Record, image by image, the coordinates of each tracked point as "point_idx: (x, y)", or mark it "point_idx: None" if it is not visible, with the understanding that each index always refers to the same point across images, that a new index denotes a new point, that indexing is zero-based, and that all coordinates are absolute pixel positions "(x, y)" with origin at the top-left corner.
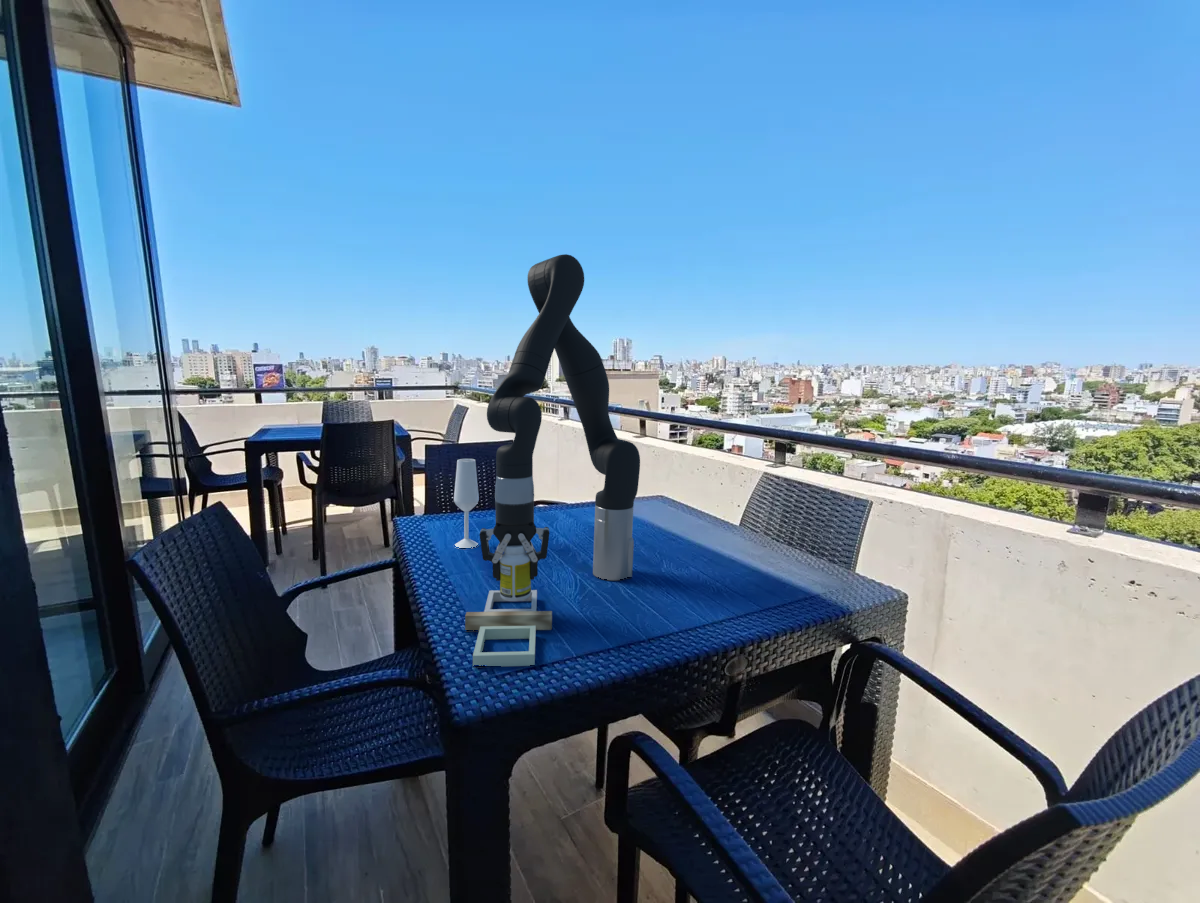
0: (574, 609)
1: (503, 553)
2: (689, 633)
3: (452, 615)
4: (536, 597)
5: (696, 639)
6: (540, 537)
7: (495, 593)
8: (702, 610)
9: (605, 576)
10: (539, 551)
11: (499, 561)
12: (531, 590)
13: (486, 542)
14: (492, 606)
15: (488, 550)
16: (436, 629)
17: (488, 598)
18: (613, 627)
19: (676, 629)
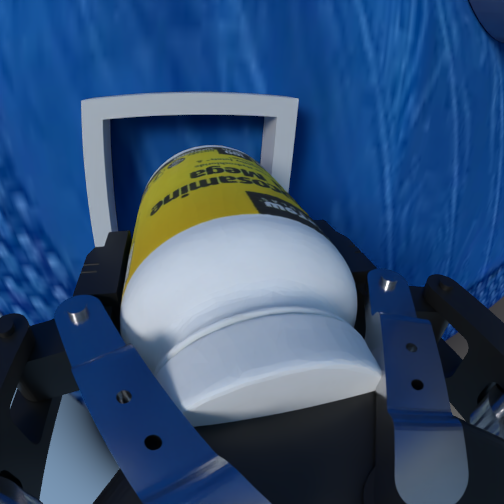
0: (383, 188)
1: (143, 342)
2: (486, 283)
3: (7, 235)
4: (289, 171)
5: (482, 297)
6: (478, 422)
7: (110, 118)
8: None
9: (489, 24)
10: (426, 315)
11: (119, 320)
12: (275, 99)
13: (36, 497)
14: (111, 167)
15: (16, 369)
16: (9, 309)
17: (90, 183)
18: (420, 276)
19: (483, 274)
